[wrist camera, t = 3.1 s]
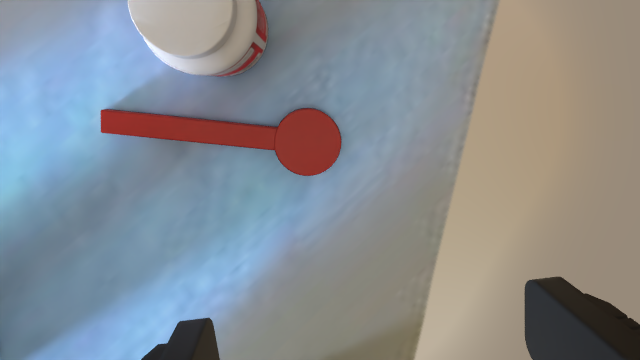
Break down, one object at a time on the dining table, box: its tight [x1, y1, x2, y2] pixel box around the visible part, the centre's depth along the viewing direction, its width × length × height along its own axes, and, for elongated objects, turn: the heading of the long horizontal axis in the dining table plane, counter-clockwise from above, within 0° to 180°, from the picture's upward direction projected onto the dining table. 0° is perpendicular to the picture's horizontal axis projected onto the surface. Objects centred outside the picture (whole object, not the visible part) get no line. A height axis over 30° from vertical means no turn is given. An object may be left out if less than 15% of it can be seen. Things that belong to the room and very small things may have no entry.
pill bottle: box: [128, 0, 268, 77], centre depth 24 cm, size 6×6×11 cm
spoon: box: [101, 108, 341, 176], centre depth 31 cm, size 17×5×1 cm, turn 84°
